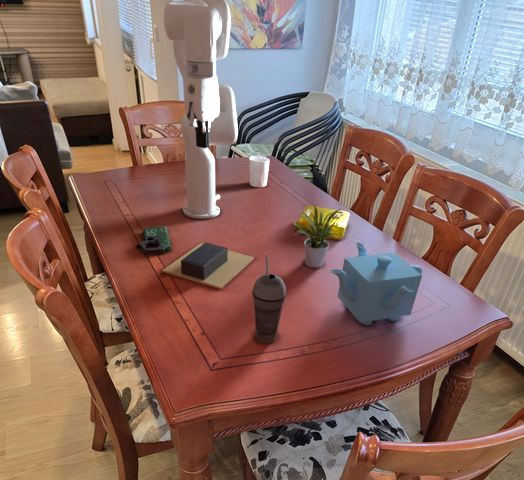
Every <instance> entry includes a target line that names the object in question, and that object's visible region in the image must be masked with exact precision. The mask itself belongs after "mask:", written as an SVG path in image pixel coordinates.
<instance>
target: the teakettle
mask: <svg viewBox="0 0 524 480" xmlns="http://www.w3.org/2000/svg"><path fill="white" fill-rule="evenodd" d="M355 245H356V248H357V251H358V256H353V257H345V258H343V264H342V268H341V269H337V268H336V269H330V270H329V272H330V273H331V274H334V275H335V276H337V278H338V283H339V284H338V285H339V286H338V292H337V298H338V299H339V300H340V301H341V303H342V304H343V305H344V306H345V307H346V308H347V310H348V311H349V312H350V313H351V314H352V315H353V316H354V318H355V319H356V320H357V321H358V323H360V324H362V325H365V326H371V325H372V324H373V321H378V320H379V321H380V320H385V319H386V320H388V321H391V322H396V321H398V319H399V317H404V316H410V315H411V314H412V312H413V308H414V305H415V302H416V299H417V294H418V291H419V287H420V284H421V282H422V278H423V275H422V274H423V268H422V267H421V266H419V265H415V264H409V263H408V262H407V261H405V260H404V259H403V258H402V257H401V256H399V255H398V254H397V253H396V252H389V253H379V254H378V253H377V254H370V255H369V254H368V253H367V249H366V247H365V246H364V244H363V243H362V242H356V244H355Z"/></svg>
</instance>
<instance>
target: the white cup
mask: <svg viewBox="0 0 524 480" xmlns="http://www.w3.org/2000/svg"><path fill="white" fill-rule="evenodd" d="M269 168H270V158H269V157H267V156H264V155H252V156H250V157H248V173H249V175H248V176H249V186H251V187H254V188H265V187H266V186H267V185H268V184H267V183H268V176H269Z"/></svg>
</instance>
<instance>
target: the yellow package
mask: <svg viewBox="0 0 524 480" xmlns="http://www.w3.org/2000/svg"><path fill="white" fill-rule="evenodd" d="M316 208H317V210H318V225H319V219H320V211H321V213H322V211H323V220H322V224H323V221H324V219H325V217H326V216H327V215H328V214H329V213H331V212H334V211H336V210H337V209H333V208H328V207H327V208H326V207H320V206H316ZM338 210H339V209H338ZM302 212H303V213H305V214H306V215H308V216H309V218H310V219H311V221H312V220H313V221H314V219H313V217H312V215H311V213H312V214H313V215H314V217H315V210H314V205H308V206H306V207H305V208H304V210H303V211H302ZM301 214H302V213H301ZM301 214H300V217H299V218H298V222H297V224H300V225H302V226H304V227H306V228H307V229H309V230H310V231H311V232H312V233H313V231H312V229H311V228H310V227H309V226H308V225H312V224H311V222H310V221H309V219H308V218H307V217H306V216H305V215H304V214H302V215H301ZM331 214H332V213H331ZM331 214H330V215H331ZM303 215H304V216H303ZM330 215H329V216H330ZM336 215H337V216H336ZM329 216H328V217H329ZM335 216H336V217H335ZM328 217H327V219H328ZM334 217H335V219H334V220H333V221H332V222H331V220H332V219H333V218H334ZM301 218H302V219H301ZM306 218H307V219H308V220H307V219H306ZM333 218H332V219H331V220H330V222H331V224H330V225H329V226H328V227H330V226H331V225H332V224H333V223H334V222H335V221H336V220H337V219H338V218H339V219H338V220H337V221H336V222H335V223H334V224H333V225H334V226H332V227H331V228H333V229H334V230H333V229H332V230H330V232H333V233H332V234H330V235H329V236H330V237H328V236H327V238H326V239H329V240H335V241H340V240H342V239H343V238H344V236H345V234H346V231H347V227H348V225H349V224H348V223H349V218H350V212H348V211H346V210H339V211H338V212H337V213H336V214H335V215H334V216H333ZM303 219H304V220H303ZM327 219H326V220H325V222H324V224H323V227H322V229H323V228H324V225H325V223H326V221H327ZM308 221H309V222H308ZM330 222H329V223H330ZM309 223H310V224H309ZM314 223H315V221H314ZM315 229H316V226H315ZM298 230H301V229H300V228H299V227H297V231H298ZM301 235H305V234H304V233H301ZM332 235H337V236H338V237H336V236H332ZM338 238H339V239H338Z"/></svg>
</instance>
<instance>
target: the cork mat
mask: <svg viewBox="0 0 524 480" xmlns="http://www.w3.org/2000/svg"><path fill="white" fill-rule="evenodd" d="M203 244H204V243H202V242H201V243H199V244H197V245H196V246H194V247H193V248H192V249H190V250H188V251H187V252H186V253H184V254H183V255H181V256H180V257H179V258H177V259H176V260H175V261H173V262H172V263H170V264H169V265H168V266H166V267H165V268H163V269H162V273H164V274H168V275H171V276H175V277H178V278H180V279H184V280H188V281H191V282H194V283H198V284H201V285H205V286H208V287H211V288H215V289H218V290H222V289H223V288H224V287H225V286H226V285H227V284H229V283H230V282H231V281H232V280H233V279H234V278H235V277H236V276H237V275H239V273H241V272H242V271H243V270H244V269H245V268H246V267H247V266H249V264H250V263H252V262H253V261H254V260H255V256H251V255H247V254H243V253H240V252H237V251H232V250H229V249H228V260H227V262H226V263H224V264H223V265H222V266H221V267H220V268H218V269H217V270H216V271H215V272H213V273H212V274H211V275H210V276H209V277H207V278H206V279H205V280H201V279H197V278H194V277H191V276H187V275H184V274H181V260H182V259H183V258H185V257H186V256H188V255H189V254H190V253H192V252H193V251H195V250H196V249H197V248H199V247H200V246H202V245H203Z"/></svg>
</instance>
